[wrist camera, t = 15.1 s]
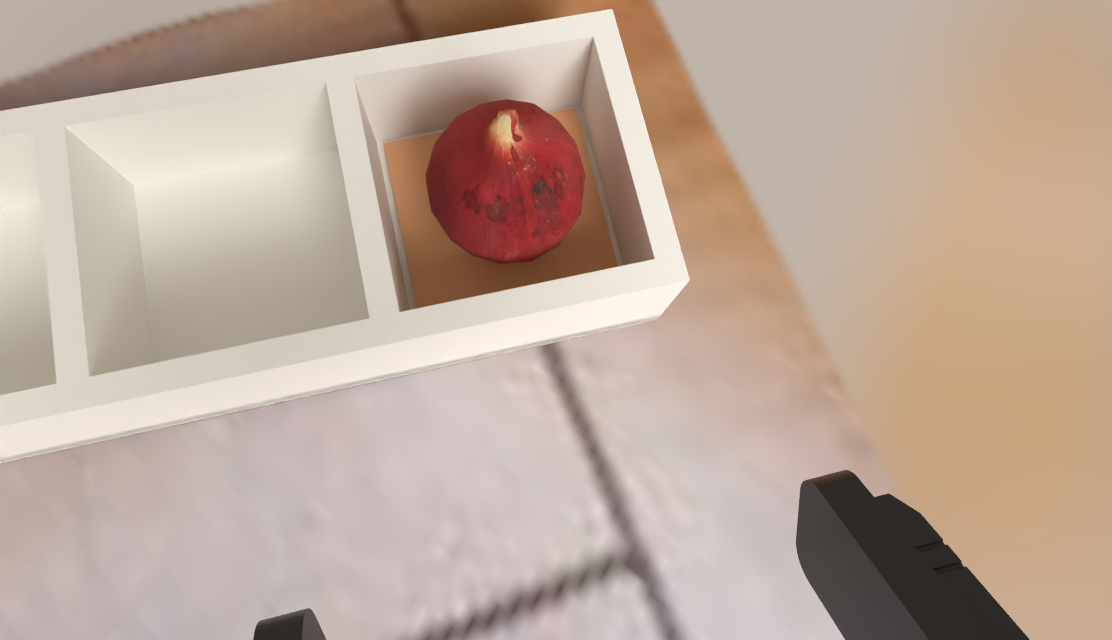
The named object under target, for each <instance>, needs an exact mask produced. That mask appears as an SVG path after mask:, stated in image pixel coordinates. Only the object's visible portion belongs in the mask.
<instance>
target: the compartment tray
mask: <svg viewBox="0 0 1112 640" xmlns="http://www.w3.org/2000/svg"><path fill="white" fill-rule="evenodd" d="M504 99H509V100H515V101H522V102H529V103H533V104H535V105H537V106H538V107H540V108H541V109H543V110H544V111H546V112H547V113H549V114H550V115H552V116H553V117H555V118H556V119H557V120H559V122H560V123H561V124H562V125H563V127H564V128H565V129H566V130H567V132H568V133H569V134H570V135H571V137H572V138H573V139H574V140H575V142H576V144H577V147H578V150H579V154H580V158H581V161H582V165H583V168H584V172H585V183H584V191H583V200H582V209H581V214H580V216H579V217H578V219H577V220H576V222H575V223H574V225H573V226H572V228H571V229H570V230H569V232H568V233H567V235H566V236H565V238H564V239H563V241H562V242H561V243H560V245H559V246H557V247H556V248H554V249H552V250H550V251H549V252H547V253H545V254H544V255H542V256H540V257H538V258H537V259H535V260H533V261H531V262H519V263H507V264H498V263H495V262H492V261H488V260H485V259H481V258H478V257H474V256H471V255H470V254H469V253H467V252H466V251H465V250H463V249H462V248H461V247H460V246H458V245H457V244H456V243H454V242H453V241H452V240H450V238H449V237H448V235H447V234H446V232H445V231H444V229H443V228H442V226H441V225H440V223H439V222H438V220H437V219H436V217H435V216H434V215H433V213H432V212H431V208H430V202H429V196H428V190H427V185H426V171H427V167H428V164H429V160H430V157H431V153H432V150H433V146H434V144H435V142H436V141H437V139H438V138H439V137H440V136H441V134H442V133H443V132H444V131H445V130H446V128H447V127H448V126H449V125H450V123H451V122H452V121H453V120H454V119H455V117H457V116H458V115H460V114H462V113H464V112H466V111H467V110H469V109H471V108H473V107H475V106H476V105H478V104H481V103H487V102H493V101H499V100H504ZM689 280H690V279H689V276H688V272H687V269H686V265H685V262H684V258H683V255H682V251H681V248H680V244H679V241H678V237H677V234H676V230H675V227H674V223H673V220H672V216H671V213H670V209H669V206H668V202H667V199H666V195H665V192H664V188H663V185H662V181H661V178H660V174H659V171H658V167H657V164H656V160H655V157H654V153H653V150H652V146H651V143H650V139H649V136H648V132H647V129H646V125H645V122H644V118H643V115H642V111H641V108H640V104H639V101H638V97H637V94H636V90H635V87H634V83H633V80H632V76H631V73H630V69H629V66H628V62H627V59H626V55H625V52H624V48H623V45H622V41H621V38H620V34H619V31H618V27H617V24H616V20H615V17H614V13H613V10H612V9H610V10H604V11H598V12H592V13H586V14H580V15H574V16H568V17H562V18H556V19H550V20H544V21H538V22H532V23H526V24H520V25H514V26H508V27H502V28H496V29H490V30H484V31H478V32H472V33H466V34H460V35H454V36H448V37H441V38H435V39H429V40H423V41H417V42H411V43H405V44H399V45H393V46H387V47H381V48H375V49H369V50H363V51H357V52H351V53H345V54H339V55H333V56H327V57H321V58H315V59H309V60H303V61H297V62H291V63H285V64H279V65H273V66H267V67H261V68H255V69H249V70H243V71H237V72H231V73H225V74H219V75H213V76H207V77H201V78H195V79H189V80H183V81H177V82H171V83H165V84H159V85H153V86H147V87H141V88H135V89H129V90H123V91H117V92H111V93H105V94H99V95H93V96H87V97H81V98H75V99H69V100H63V101H57V102H51V103H45V104H39V105H33V106H27V107H21V108H15V109H9V110H3V111H0V463H5V462H9V461H14V460H18V459H23V458H28V457H32V456H37V455H41V454H46V453H51V452H55V451H60V450H64V449H69V448H74V447H78V446H83V445H87V444H92V443H96V442H101V441H106V440H110V439H115V438H119V437H124V436H129V435H133V434H138V433H142V432H147V431H151V430H156V429H161V428H165V427H170V426H174V425H179V424H184V423H188V422H193V421H197V420H202V419H206V418H211V417H216V416H220V415H225V414H229V413H234V412H239V411H243V410H248V409H252V408H257V407H262V406H266V405H271V404H275V403H280V402H284V401H289V400H294V399H298V398H303V397H307V396H312V395H317V394H321V393H326V392H330V391H335V390H339V389H344V388H349V387H353V386H358V385H362V384H367V383H372V382H376V381H381V380H385V379H390V378H395V377H399V376H404V375H408V374H413V373H417V372H422V371H427V370H431V369H436V368H440V367H445V366H450V365H454V364H459V363H463V362H468V361H472V360H477V359H482V358H486V357H491V356H495V355H500V354H505V353H509V352H514V351H518V350H523V349H527V348H532V347H537V346H541V345H546V344H550V343H555V342H560V341H564V340H569V339H573V338H578V337H583V336H587V335H592V334H596V333H601V332H605V331H610V330H615V329H619V328H624V327H628V326H633V325H638V324H642V323H647V322H651V321H656V320H657V319H658V318H659V316H660V315H661V314H662V313H663V312H664V310H665V309H666V308H667V307H668V306H669V304H670V303H671V302H672V301H673V300H674V298H675V297H676V296H677V295H678V293H679V292H680V291H681V290H682V289H683V287H684V286H685V285H686V284H687V283H688V281H689Z"/></svg>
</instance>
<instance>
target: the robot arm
mask: <svg viewBox="0 0 1112 640" xmlns="http://www.w3.org/2000/svg"><path fill="white" fill-rule="evenodd" d="M796 548H797V553H798V558H799V561H800V564H801V567H802V569H803V571H804V574H805V576H806V578H807V579H808V581H809V583H810V584H811V586H812V587H813V589H814V591H815V592H816V594H817V595H818V597H819V599H820V600H821V602H822V603H823V605H824V607H825V608H826V610H827V611H828V613H829V615H830V616H831V618H832V619H833V621H834V623H835V624H836V626H837V627H838V629H839V630H840V632H841V634H842V635H843V637H844V638H845V640H1029V638H1028V637H1027V636H1026V635H1025V634H1024V633H1023V631H1022V630H1021V629H1020V628H1019V627H1018V626H1017V625H1016V623H1015V622H1014V621H1013V620H1012V619H1011V618H1010V616H1009V615H1008V614H1007V613H1006V612H1005V611H1004V610H1003V608H1002V607H1001V606H1000V605H999V604H998V603H997V601H996V600H995V599H994V598H993V597H992V596H991V594H990V593H989V592H988V591H987V590H986V589H985V588H984V586H983V585H982V584H981V583H980V582H979V581H978V580H977V578H976V577H975V576H974V575H973V574H972V573H971V571H970V570H969V569H968V568H967V567H964V566H963V565H962V563H961V560H960V559H959V558H958V556H957V555H956V554H955V553H954V552H953V551H952V550H951V548H950V547H949V546H948V545H945V544H944V543H943V539H942V538H941V537H940V536H939V535H938V533H937V532H936V531H935V530H934V529H933V528H932V526H931V525H930V524H929V523H928V522H927V521H926V519H925V518H924V517H923V516H922V515H921V514H920V513H919V512H917V511H916V510H914V509H913V508H911V507H909V506H908V505H906V504H905V503H903V502H901V501H900V500H898V499H897V498H895V497H894V496H892V495H890V494H885V495H881V496H878V497H873V495H872V494H871V493H870V492H869V491H868V489H867V488H866V487H865V486H864V484H863V483H862V482H861V481H860V480H859V478H858V477H857V476H856V475H855V474H854V473H852V472H851V471H848V470H844V471H840V472H836V473H832V474H828V475H824V476H821V477H817V478H813V479H809V480H805V481H803V483H802V484H801V488H800V499H799V512H798V524H797V536H796ZM253 640H326V638H325V636H324V634H323V632H322V629H321V627H320V625H319V623H318V621H317V619H316V617H315V615H314V613H313V611H312V610H311V609H309V608H308V609H304V610H300V611H296V612H292V613H289V614H285V615H281V616H277V617H273V618H269V619H266V620H262V621H259V623H258V624H257V626H256V629H255V633H254V639H253Z"/></svg>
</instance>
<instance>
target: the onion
mask: <svg viewBox="0 0 1112 640" xmlns="http://www.w3.org/2000/svg"><path fill="white" fill-rule="evenodd" d="M584 183H585V172H584V168H583V165H582V161H581V158H580V154H579V150H578V147H577V144H576V142H575V140H574V139H573V138H572V137H571V135H570V134H569V133H568V132H567V130H566V129H565V128H564V127H563V125H562V124H561V123H560V122H559V120H557V119H556V118H555V117H553V116H552V115H550V114H549V113H547V112H546V111H544V110H543V109H541V108H540V107H538V106H537V105H535V104H533V103H529V102H522V101H515V100H509V99H504V100H499V101H493V102H487V103H481V104H478V105H476V106H475V107H473V108H471V109H469V110H467V111H466V112H464V113H462V114H460V115H458V116H457V117H455V119H454V120H453V121H452V122H451V123H450V125H449V126H448V127H447V128H446V130H445V131H444V132H443V133H442V134H441V136H440V137H439V138H438V139H437V141H436V142H435V144H434V146H433V150H432V153H431V157H430V160H429V164H428V167H427V171H426V185H427V190H428V196H429V202H430V208H431V212H432V213H433V215H434V216H435V217H436V219H437V220H438V222H439V223H440V225H441V226H442V228H443V229H444V231H445V232H446V234H447V235H448V237H449V238H450V240H452V241H453V242H454V243H456V244H457V245H458V246H460V247H461V248H462V249H463V250H465V251H466V252H467V253H469V254H470V255H471V256H474V257H478V258H481V259H485V260H488V261H492V262H495V263H498V264H507V263H519V262H531V261H533V260H535V259H537V258H538V257H540V256H542V255H544V254H545V253H547V252H549V251H550V250H552V249H554V248H556V247H557V246H559V245H560V243H561V242H562V241H563V239H564V238H565V236H566V235H567V233H568V232H569V230H570V229H571V228H572V226H573V225H574V223H575V222H576V220H577V219H578V217H579V216H580V214H581V209H582V200H583V191H584Z"/></svg>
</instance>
